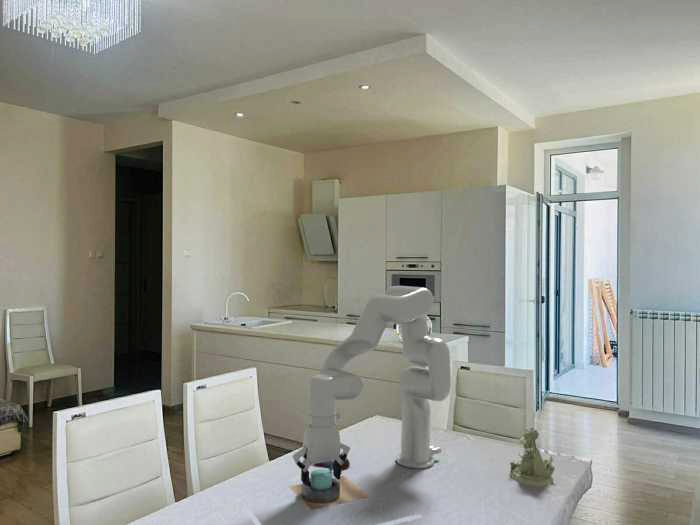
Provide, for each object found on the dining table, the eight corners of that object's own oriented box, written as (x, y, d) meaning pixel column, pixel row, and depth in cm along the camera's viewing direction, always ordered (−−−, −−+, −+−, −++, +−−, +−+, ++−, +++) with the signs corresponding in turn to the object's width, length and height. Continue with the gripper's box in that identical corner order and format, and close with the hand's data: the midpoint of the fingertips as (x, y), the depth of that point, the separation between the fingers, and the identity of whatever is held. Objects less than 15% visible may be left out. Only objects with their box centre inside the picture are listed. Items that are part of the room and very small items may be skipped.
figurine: (562, 478, 166) (563, 430, 166) (545, 491, 157) (546, 440, 157) (519, 465, 176) (520, 420, 176) (500, 477, 166) (501, 429, 166)
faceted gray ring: (329, 484, 156) (329, 474, 156) (346, 498, 146) (346, 487, 146) (296, 491, 151) (296, 480, 151) (311, 506, 141) (311, 495, 141)
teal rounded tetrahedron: (326, 488, 153) (326, 467, 153) (335, 497, 147) (336, 475, 147) (306, 492, 150) (307, 471, 150) (315, 501, 144) (316, 479, 144)
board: (343, 478, 162) (343, 475, 162) (370, 500, 148) (370, 496, 148) (288, 489, 154) (289, 486, 154) (311, 513, 140) (311, 509, 140)
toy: (298, 478, 165) (345, 479, 162) (297, 463, 165) (344, 464, 162) (310, 461, 179) (353, 462, 176) (309, 447, 179) (353, 448, 176)
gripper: (343, 412, 156) (342, 470, 156) (288, 420, 148) (287, 481, 148) (356, 419, 149) (354, 480, 149) (299, 427, 141) (298, 492, 141)
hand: (321, 480), depth 149 cm, fingers open, 9 cm apart
